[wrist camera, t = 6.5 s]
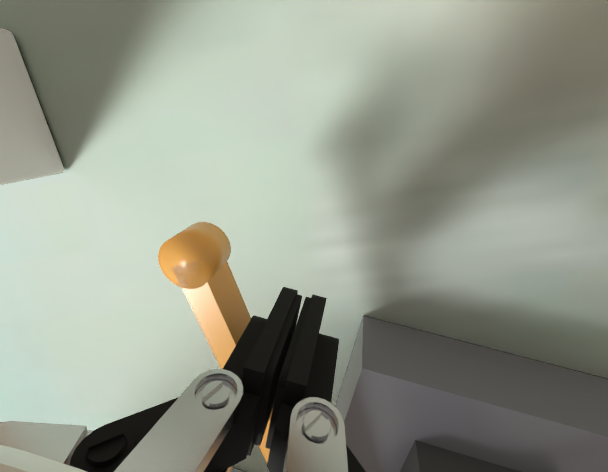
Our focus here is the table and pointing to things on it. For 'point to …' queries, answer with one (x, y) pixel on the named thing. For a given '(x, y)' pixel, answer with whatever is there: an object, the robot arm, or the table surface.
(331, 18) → the table surface
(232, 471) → the mat
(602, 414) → the socket
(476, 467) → the plug
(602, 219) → the table surface
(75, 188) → the table surface
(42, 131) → the milk carton
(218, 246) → the orange rod with ball
